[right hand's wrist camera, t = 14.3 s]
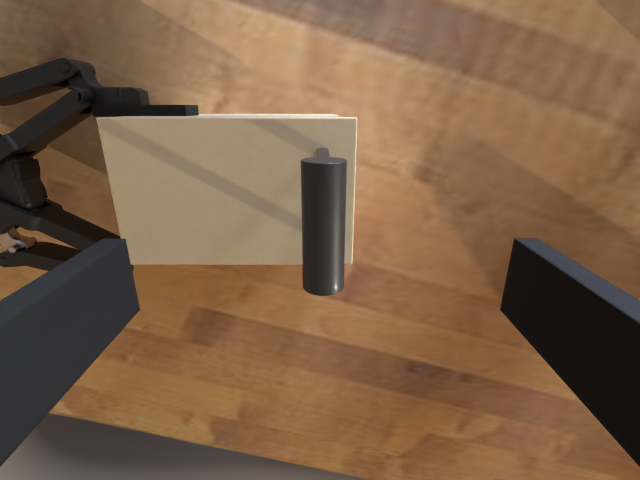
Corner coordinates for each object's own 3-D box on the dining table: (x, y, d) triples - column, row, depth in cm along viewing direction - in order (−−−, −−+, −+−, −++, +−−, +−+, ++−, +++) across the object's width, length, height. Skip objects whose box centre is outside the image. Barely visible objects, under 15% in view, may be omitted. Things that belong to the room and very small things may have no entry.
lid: (355, 117, 23) (374, 122, 15) (350, 258, 26) (364, 325, 18) (106, 117, 23) (-10, 122, 15) (133, 258, 26) (51, 324, 18)
